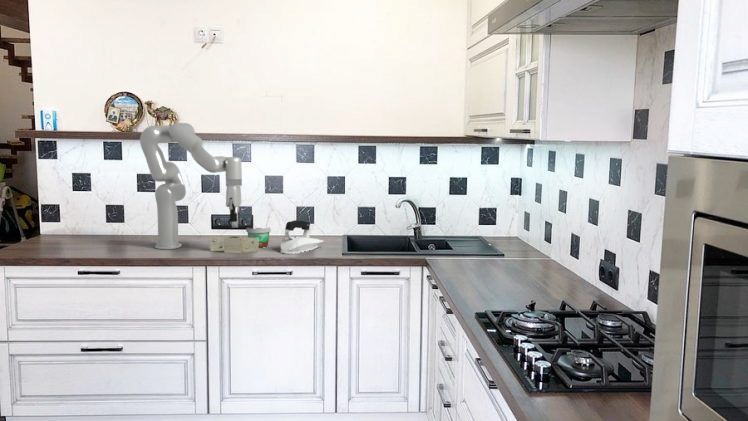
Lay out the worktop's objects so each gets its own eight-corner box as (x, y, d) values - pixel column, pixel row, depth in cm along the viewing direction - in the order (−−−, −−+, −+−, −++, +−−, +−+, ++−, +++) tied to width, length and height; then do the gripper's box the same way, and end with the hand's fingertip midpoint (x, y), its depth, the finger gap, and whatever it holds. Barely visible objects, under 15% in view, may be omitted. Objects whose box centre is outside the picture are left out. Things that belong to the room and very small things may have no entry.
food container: (247, 249, 320) (246, 229, 319) (246, 246, 326) (246, 227, 325) (272, 248, 324) (272, 228, 322) (270, 246, 329) (270, 226, 328)
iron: (324, 248, 327) (324, 218, 325) (292, 255, 307) (292, 224, 305) (307, 245, 333) (307, 216, 331) (275, 252, 313) (275, 221, 311)
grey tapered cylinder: (230, 227, 310) (229, 201, 309) (232, 226, 314) (231, 200, 313) (237, 227, 310) (237, 201, 308) (240, 226, 314) (239, 200, 312)
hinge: (207, 252, 311) (207, 237, 310) (213, 249, 318) (213, 235, 318) (256, 253, 309) (256, 239, 308) (260, 250, 316) (260, 236, 316)
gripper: (231, 181, 318) (232, 218, 320) (220, 184, 302) (221, 223, 304) (246, 181, 317) (247, 218, 319) (236, 184, 301) (237, 223, 303)
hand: (234, 220), depth 312 cm, fingers closed on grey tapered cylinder, 3 cm apart
